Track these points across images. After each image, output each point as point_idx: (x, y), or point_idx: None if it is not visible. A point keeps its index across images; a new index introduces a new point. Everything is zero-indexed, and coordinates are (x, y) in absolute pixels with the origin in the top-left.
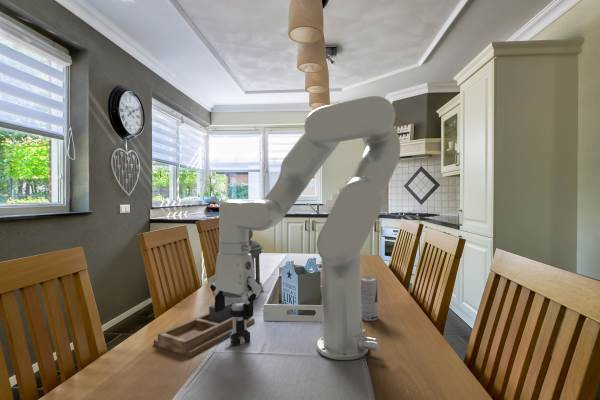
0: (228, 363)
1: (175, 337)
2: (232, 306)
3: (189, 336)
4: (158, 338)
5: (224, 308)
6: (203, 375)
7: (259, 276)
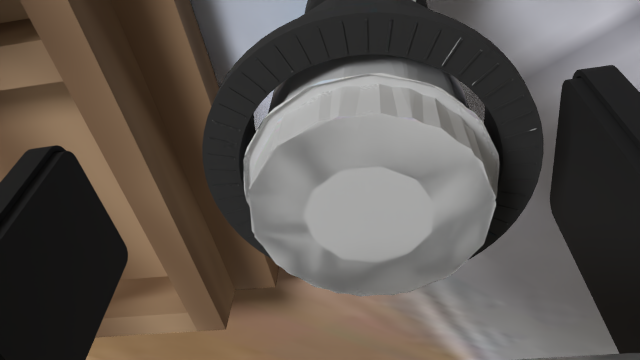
0: None
1: (117, 325)
2: (325, 278)
3: None
4: None
5: (70, 157)
6: (484, 311)
7: None
